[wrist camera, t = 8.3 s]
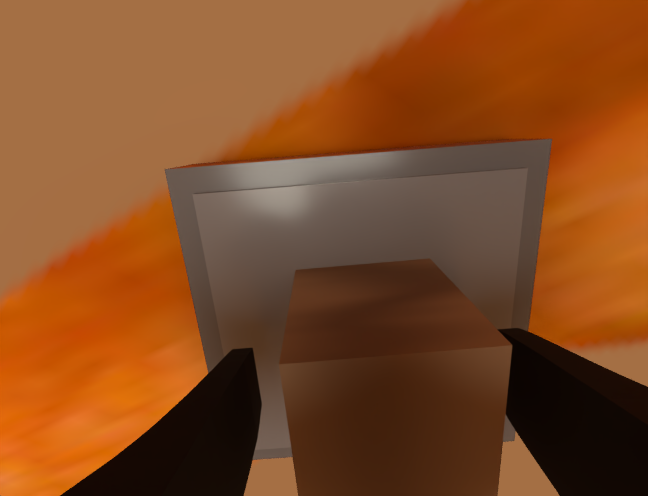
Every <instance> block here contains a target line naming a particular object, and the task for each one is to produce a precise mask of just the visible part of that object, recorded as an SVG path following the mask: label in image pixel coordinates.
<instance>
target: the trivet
mask: <svg viewBox="0 0 648 496" xmlns="http://www.w3.org/2000/svg"><path fill="white" fill-rule="evenodd" d="M551 143H552V139H504V140H491V141H479V142H466V143H453V144H441V145H428V146H415V147H403V148H390V149H378V150H365V151H352V152H340V153H327V154H315V155H302V156H289V157H277V158H264V159H251V160H239V161H226V162H214V163H201V164H191V165H186V166H180V167H175V168H170V169H165V173H166V178H167V183H168V187H169V192H170V197H171V201H172V206H173V211H174V215H175V220H176V224H177V229H178V234H179V238H180V243H181V248H182V252H183V257H184V262H185V266H186V271H187V276H188V280H189V285H190V289H191V294H192V299H193V303H194V308H195V313H196V317H197V322H198V327H199V331H200V336H201V341H202V345H203V350H204V354H205V359H206V364H207V368H208V373H209V372H210V371H211V370H212V369H213V368H214V367H215V366H216V365H217V364H218V363H219V362H220V361H221V360H222V359H223V358H224V357H225V356H226V355H227V354H228V353H229V352H230V351H231V350H232V349H241V348H253V352H254V358H255V364H256V370H257V376H258V383H259V389H260V395H261V401H262V408H261V416H260V425H259V432H258V439H257V443H256V447H255V451H254V456H253V460H257V459H271V458H285V457H293V456H292V449H291V443H290V436H289V429H288V422H287V416H286V409H285V402H284V396H283V389H282V382H281V375H280V369H279V361H280V355H281V350H282V344H283V338H284V333H285V327H286V321H287V316H288V310H289V304H290V299H291V293H292V287H293V282H294V276H295V270H299V269H311V268H323V267H334V266H346V265H358V264H370V263H381V262H393V261H405V260H417V259H428V258H430V259H431V260H432V261H433V262H434V263H435V264H436V265H437V266H438V267H439V268H440V269H441V271H442V272H443V273H444V274H445V275H446V276H447V277H448V278H449V279H450V280H451V281H452V282H453V283H454V284H455V285H456V286H457V287H458V288H459V290H460V291H461V292H462V293H463V294H464V295H465V296H466V297H467V298H468V299H469V300H470V301H471V302H472V303H473V304H474V305H475V306H476V308H477V309H478V310H479V311H480V312H481V313H482V314H483V315H484V316H485V317H486V318H487V319H488V320H489V321H490V322H491V323H492V324H493V325H494V327H495V328H496V329H509V328H520V329H523V330H525V331H528V327H529V319H530V311H531V303H532V295H533V287H534V279H535V271H536V263H537V255H538V247H539V239H540V231H541V223H542V215H543V207H544V199H545V191H546V183H547V175H548V167H549V159H550V151H551ZM515 431H516V430H515V429H514V427H513V426H512V424H511V423H510V421H509V419H508V418H507V416H506V414H505V424H504V434H503V442H506V441H514V439H515Z"/></svg>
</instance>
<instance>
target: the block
mask: <svg viewBox="0 0 648 496" xmlns="http://www.w3.org/2000/svg"><path fill="white" fill-rule="evenodd" d="M511 354H512V344H511V343H510V342H509V341H508V340H507V339H506V338H505V337H504V336H503V335H502V334H501V333H500V332H499V331H498V330H497V329H496V328H495V327H494V325H493V324H492V323H491V322H490V321H489V320H488V319H487V318H486V317H485V316H484V315H483V314H482V313H481V312H480V311H479V310H478V309H477V308H476V306H475V305H474V304H473V303H472V302H471V301H470V300H469V299H468V298H467V297H466V296H465V295H464V294H463V293H462V292H461V291H460V290H459V288H458V287H457V286H456V285H455V284H454V283H453V282H452V281H451V280H450V279H449V278H448V277H447V276H446V275H445V274H444V273H443V272H442V271H441V269H440V268H439V267H438V266H437V265H436V264H435V263H434V262H433V261H432V260H431V259H430V258H428V259H417V260H405V261H393V262H381V263H370V264H358V265H346V266H334V267H323V268H311V269H299V270H295V276H294V282H293V287H292V293H291V299H290V304H289V310H288V316H287V321H286V327H285V333H284V338H283V344H282V350H281V355H280V361H279V369H280V375H281V382H282V389H283V396H284V402H285V409H286V416H287V422H288V429H289V436H290V443H291V449H292V456H293V462H294V469H295V476H296V483H297V488H298V489H297V490H298V496H497V494H498V493H497V492H498V484H499V473H500V464H501V454H502V444H503V434H504V424H505V414H506V404H507V394H508V384H509V374H510V364H511Z"/></svg>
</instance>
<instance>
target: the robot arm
mask: <svg viewBox="0 0 648 496" xmlns="http://www.w3.org/2000/svg"><path fill="white" fill-rule="evenodd" d="M497 330H498V331H499V332H500V333H501V334H502V335H503V336H504V337H505V338H506V339H507V340H508V341H509V342H510V343H511V344H512V354H511V364H510V374H509V384H508V394H507V404H506V416H507V418H508V419H509V421H510V423H511V424H512V426H513V427H514V429H515V430H516V432H517V433H518V435H519V436H520V438H521V439H522V441H523V442H524V444H525V445H526V447H527V448H528V450H529V451H530V453H531V454H532V456H533V457H534V458H535V460H536V461H537V463H538V464H539V466H540V467H541V469H542V470H543V472H544V473H545V475H546V476H547V477H548V479H549V480H550V482H551V483H552V485H553V486H554V488H555V489H556V490H557V492H558V494H559V495H560V496H648V387H647V386H644V385H642V384H640V383H638V382H635V381H633V380H631V379H628V378H626V377H624V376H622V375H619V374H617V373H615V372H613V371H611V370H608V369H606V368H604V367H602V366H600V365H598V364H596V363H593V362H591V361H589V360H587V359H585V358H583V357H581V356H579V355H577V354H575V353H573V352H570V351H568V350H566V349H564V348H562V347H560V346H558V345H556V344H554V343H552V342H550V341H548V340H545V339H543V338H541V337H539V336H537V335H535V334H532V333H530V332H528V331H525V330H523V329H520V328H509V329H497ZM261 408H262V401H261V395H260V389H259V383H258V376H257V370H256V364H255V358H254V352H253V348H241V349H232V350H231V351H230V352H229V353H228V354H227V355H226V356H225V357H224V358H223V359H222V360H221V361H220V362H219V363H218V364H217V365H216V366H215V367H214V368H213V369H212V370H211V371H210V372H209V373H208V375H207V376H206V377H205V378H204V379H203V380H202V381H201V382H200V383H199V384H198V385H197V386H196V387H195V388H194V389H193V390H192V391H191V392H190V393H189V394H188V395H186V396H185V397H184V398H183V399H182V400H181V401H180V402H179V403H178V404H177V405H176V406H175V407H173V408H172V409H171V410H170V411H169V412H168V413H167V414H166V415H165V416H164V417H163V418H161V419H160V420H159V421H158V422H157V423H156V424H155V425H154V426H152V427H151V428H150V429H149V430H148V431H147V432H145V433H144V434H143V435H142V436H141V437H139V438H138V439H137V440H136V441H134V442H133V443H132V444H131V445H129V446H128V447H127V448H125V449H124V450H123V451H122V452H120V453H119V454H118V455H117V456H115V457H114V458H113V459H111V460H110V461H109V462H107V463H106V464H104V465H103V466H102V467H100V468H99V469H97V470H96V471H94V472H93V473H92V474H90V475H89V476H87V477H86V478H84V479H83V480H82V481H80V482H79V483H77V484H76V485H75V486H73V487H72V488H70V489H69V490H67V491H66V492H65V493H63V494H62V495H60V496H244V491H245V488H246V483H247V480H248V475H249V472H250V468H251V464H252V460H253V456H254V451H255V447H256V443H257V439H258V432H259V425H260V416H261Z"/></svg>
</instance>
